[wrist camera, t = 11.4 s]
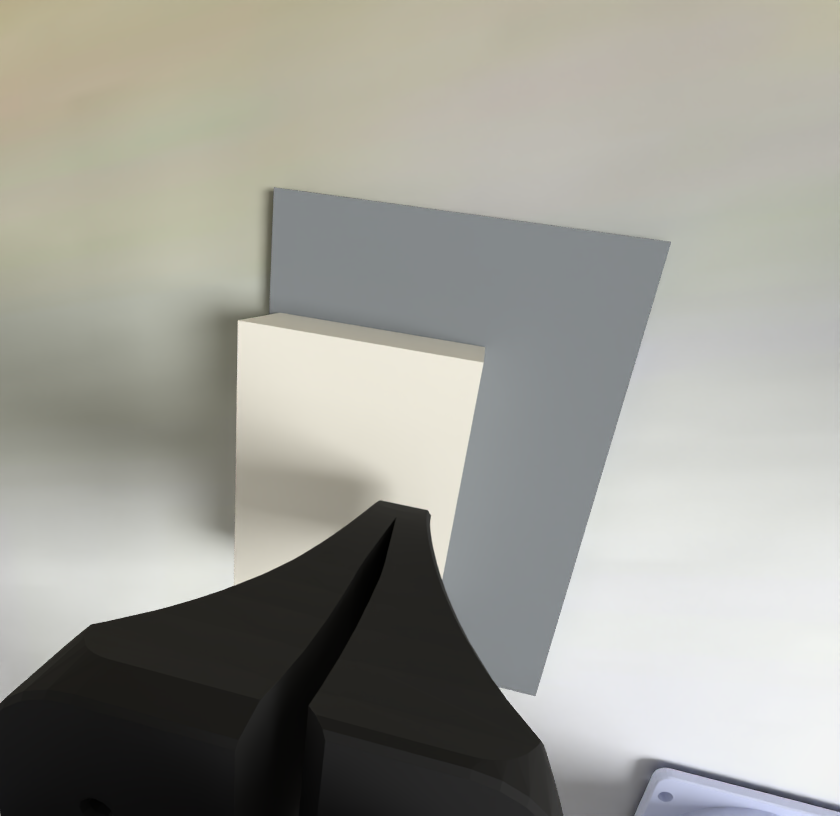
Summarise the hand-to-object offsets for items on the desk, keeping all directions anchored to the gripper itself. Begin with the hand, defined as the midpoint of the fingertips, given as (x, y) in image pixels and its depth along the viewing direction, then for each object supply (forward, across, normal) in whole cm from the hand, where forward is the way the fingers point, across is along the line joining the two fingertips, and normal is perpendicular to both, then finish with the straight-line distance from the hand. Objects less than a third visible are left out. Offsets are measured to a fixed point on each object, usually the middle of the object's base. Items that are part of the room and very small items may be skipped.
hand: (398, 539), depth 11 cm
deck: (+2, -1, 0) cm, 3 cm away
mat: (+4, 0, 0) cm, 4 cm away
